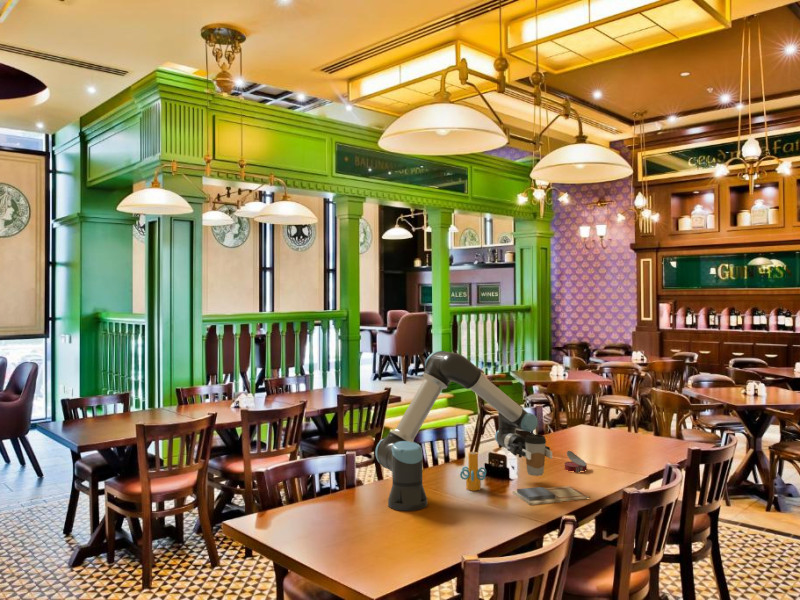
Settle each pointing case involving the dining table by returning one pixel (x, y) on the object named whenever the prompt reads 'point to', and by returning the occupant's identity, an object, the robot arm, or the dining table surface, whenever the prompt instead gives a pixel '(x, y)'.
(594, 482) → the dining table surface
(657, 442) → the dining table surface
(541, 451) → the coffee cup
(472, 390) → the robot arm
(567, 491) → the board
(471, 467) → the orange box with loops
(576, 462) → the canned food
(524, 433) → the coffee mug
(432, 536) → the dining table surface
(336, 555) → the dining table surface
